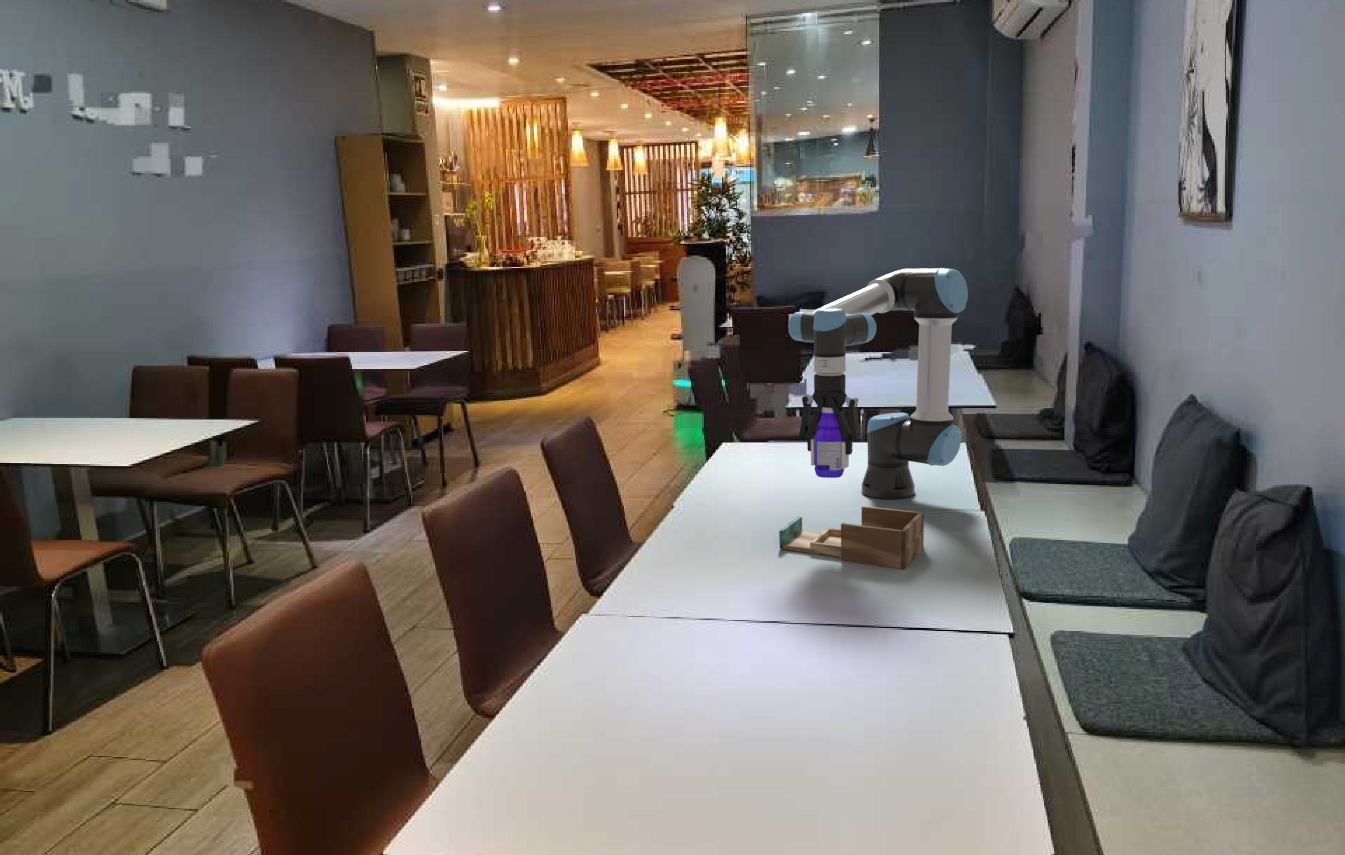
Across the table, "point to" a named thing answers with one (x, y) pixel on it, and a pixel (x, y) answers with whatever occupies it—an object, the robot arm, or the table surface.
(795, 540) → the tray
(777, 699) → the table surface
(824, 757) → the table surface
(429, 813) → the table surface
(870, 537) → the housing
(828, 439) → the bottle
